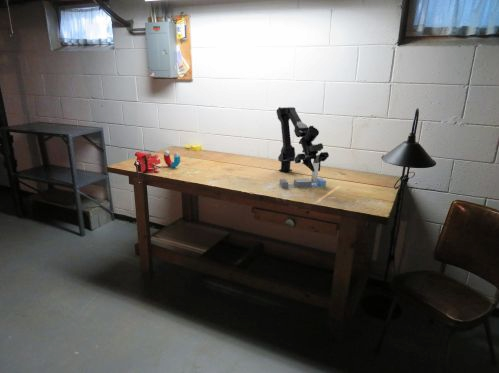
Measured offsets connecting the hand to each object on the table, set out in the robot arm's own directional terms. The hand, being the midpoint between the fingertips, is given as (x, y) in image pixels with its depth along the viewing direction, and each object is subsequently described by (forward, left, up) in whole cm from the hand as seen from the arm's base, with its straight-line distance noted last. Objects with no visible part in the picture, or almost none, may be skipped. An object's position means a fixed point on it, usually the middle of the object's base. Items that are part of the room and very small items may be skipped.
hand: (316, 171), depth 189 cm
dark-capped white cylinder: (-1, -1, -7) cm, 7 cm away
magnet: (+18, -89, -9) cm, 91 cm away
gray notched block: (+4, -6, -9) cm, 12 cm away
